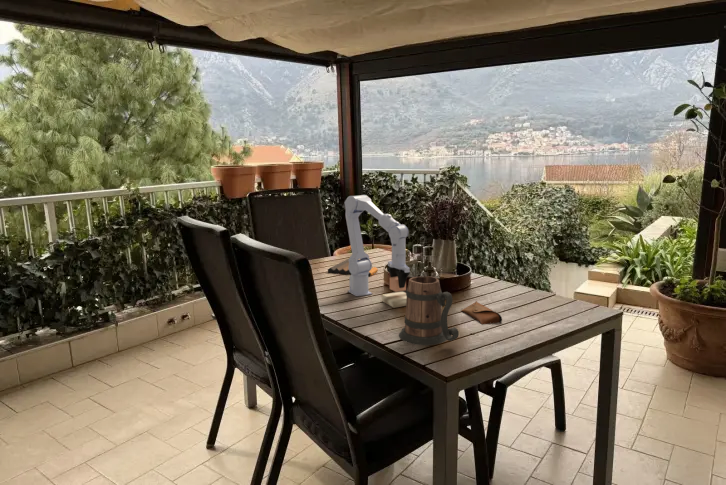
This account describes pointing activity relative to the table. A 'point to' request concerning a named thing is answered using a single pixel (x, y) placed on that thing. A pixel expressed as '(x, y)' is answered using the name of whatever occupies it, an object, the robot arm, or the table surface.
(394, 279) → the cube
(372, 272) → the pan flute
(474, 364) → the table surface
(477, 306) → the sunglasses case
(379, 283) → the table surface
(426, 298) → the tankard
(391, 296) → the base
